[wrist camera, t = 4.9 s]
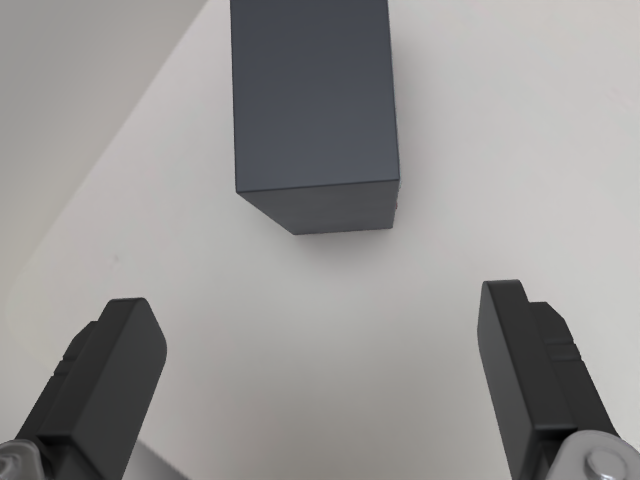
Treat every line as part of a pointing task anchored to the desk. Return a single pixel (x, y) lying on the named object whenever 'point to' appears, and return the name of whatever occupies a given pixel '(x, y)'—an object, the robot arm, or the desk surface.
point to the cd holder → (315, 113)
